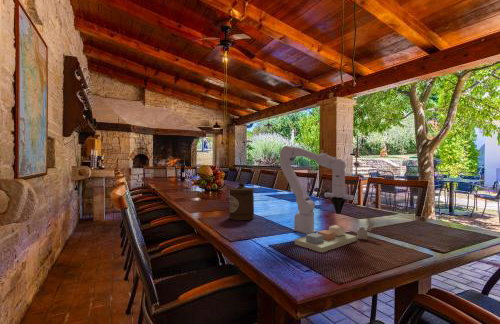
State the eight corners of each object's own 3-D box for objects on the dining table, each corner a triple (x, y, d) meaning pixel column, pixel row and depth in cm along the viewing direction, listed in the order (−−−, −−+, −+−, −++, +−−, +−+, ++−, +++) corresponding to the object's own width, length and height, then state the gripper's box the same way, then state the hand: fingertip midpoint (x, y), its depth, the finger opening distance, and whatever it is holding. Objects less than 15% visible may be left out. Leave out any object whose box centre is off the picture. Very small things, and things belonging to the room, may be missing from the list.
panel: (294, 244, 119) (294, 239, 119) (329, 234, 135) (329, 229, 135) (321, 252, 108) (321, 247, 108) (356, 240, 124) (356, 236, 124)
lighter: (357, 238, 127) (357, 221, 127) (357, 237, 129) (357, 220, 128) (374, 240, 125) (374, 222, 125) (373, 238, 127) (373, 221, 127)
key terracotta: (317, 238, 122) (317, 231, 122) (324, 236, 125) (324, 229, 125) (327, 241, 118) (327, 234, 118) (334, 239, 121) (334, 232, 121)
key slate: (306, 241, 117) (306, 234, 117) (313, 239, 120) (313, 232, 120) (315, 244, 113) (315, 237, 113) (323, 242, 116) (323, 235, 116)
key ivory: (328, 233, 127) (328, 226, 127) (335, 231, 130) (335, 225, 130) (338, 235, 123) (338, 228, 123) (344, 233, 126) (344, 227, 126)
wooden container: (226, 216, 174) (226, 181, 173) (249, 215, 178) (249, 180, 178) (232, 221, 160) (232, 183, 159) (257, 220, 164) (257, 182, 164)
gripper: (320, 184, 135) (320, 212, 135) (347, 186, 124) (347, 217, 124) (329, 183, 139) (329, 210, 140) (356, 185, 128) (356, 215, 128)
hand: (338, 213), depth 132 cm, fingers closed
